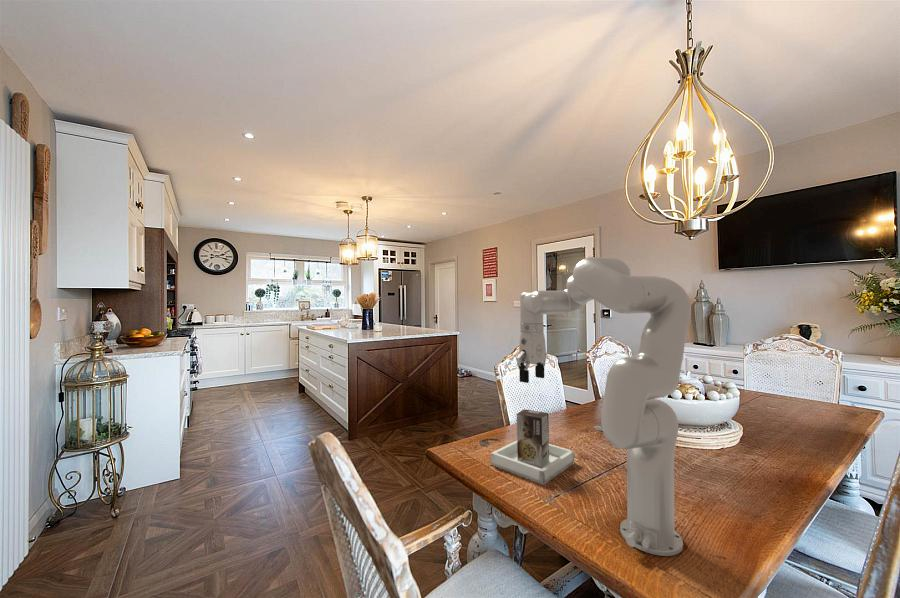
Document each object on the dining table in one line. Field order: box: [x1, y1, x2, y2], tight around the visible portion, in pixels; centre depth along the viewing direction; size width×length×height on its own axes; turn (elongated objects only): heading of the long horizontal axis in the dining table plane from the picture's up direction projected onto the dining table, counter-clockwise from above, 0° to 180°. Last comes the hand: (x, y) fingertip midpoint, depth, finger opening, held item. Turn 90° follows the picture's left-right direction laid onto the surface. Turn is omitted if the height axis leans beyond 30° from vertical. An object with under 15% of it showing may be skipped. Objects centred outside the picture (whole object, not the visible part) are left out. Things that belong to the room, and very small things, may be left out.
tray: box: [490, 440, 575, 486], centre depth 123 cm, size 20×19×4 cm
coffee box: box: [516, 408, 550, 468], centre depth 122 cm, size 9×6×16 cm
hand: (532, 379), depth 123 cm, fingers open, 9 cm apart
